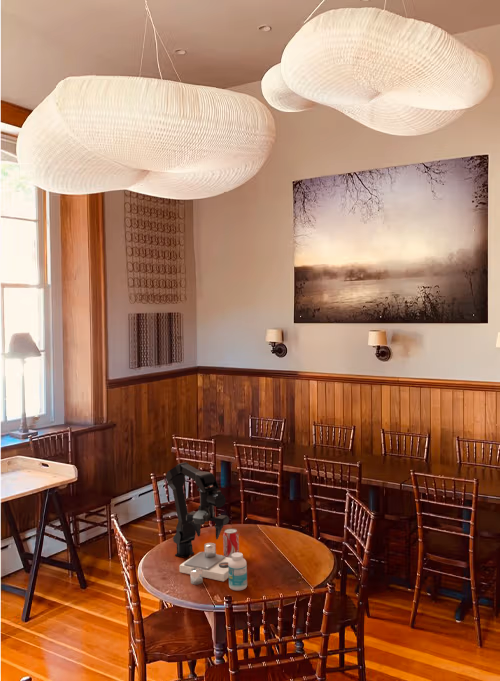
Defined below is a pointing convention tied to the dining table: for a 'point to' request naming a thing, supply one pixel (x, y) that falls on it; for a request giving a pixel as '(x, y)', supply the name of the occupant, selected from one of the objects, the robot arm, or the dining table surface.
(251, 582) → the dining table surface
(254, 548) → the dining table surface
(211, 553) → the cylinder
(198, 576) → the cylinder
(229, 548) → the soda can
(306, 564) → the dining table surface
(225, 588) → the dining table surface
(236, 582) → the pill bottle
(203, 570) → the scale
